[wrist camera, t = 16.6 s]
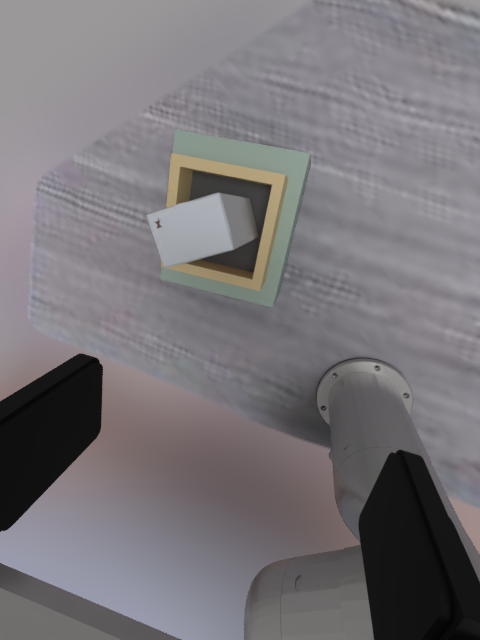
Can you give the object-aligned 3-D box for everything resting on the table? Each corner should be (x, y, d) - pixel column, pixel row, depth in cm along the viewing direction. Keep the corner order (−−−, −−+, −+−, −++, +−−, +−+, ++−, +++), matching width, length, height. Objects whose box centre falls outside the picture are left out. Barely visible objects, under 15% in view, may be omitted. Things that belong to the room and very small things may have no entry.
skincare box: (209, 251, 35) (161, 269, 24) (198, 212, 34) (142, 213, 23) (261, 237, 33) (234, 251, 22) (251, 196, 32) (218, 189, 21)
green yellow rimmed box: (279, 292, 42) (268, 317, 32) (182, 269, 44) (145, 285, 34) (311, 163, 36) (309, 146, 27) (198, 142, 38) (159, 119, 29)
